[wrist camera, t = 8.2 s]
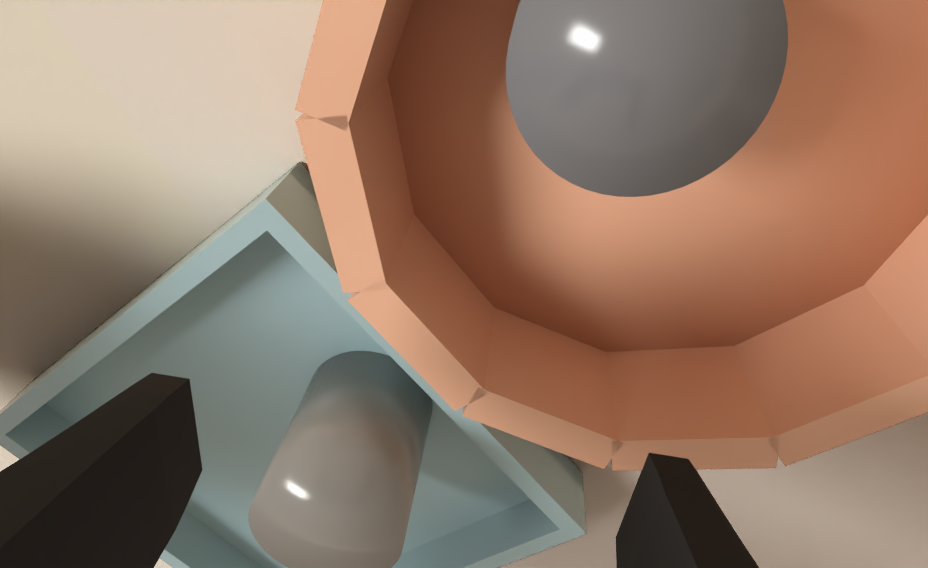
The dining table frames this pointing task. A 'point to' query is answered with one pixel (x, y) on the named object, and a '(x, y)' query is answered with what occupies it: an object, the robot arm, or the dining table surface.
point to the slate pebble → (345, 467)
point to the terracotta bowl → (634, 242)
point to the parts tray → (291, 397)
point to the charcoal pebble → (643, 86)
